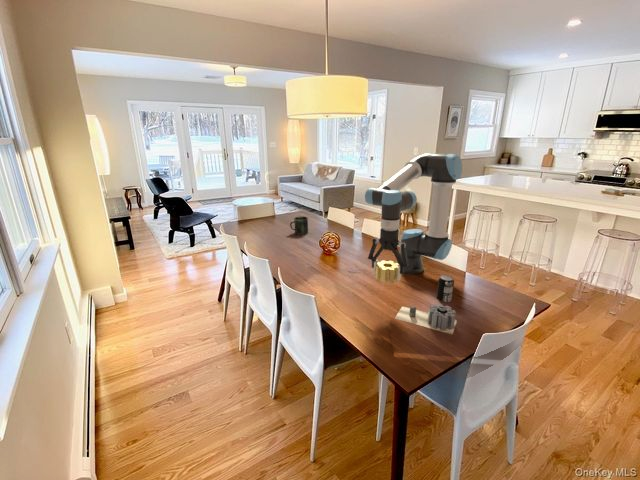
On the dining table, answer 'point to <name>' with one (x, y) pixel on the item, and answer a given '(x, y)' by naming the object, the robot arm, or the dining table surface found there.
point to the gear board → (418, 318)
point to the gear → (441, 317)
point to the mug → (300, 225)
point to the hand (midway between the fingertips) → (386, 277)
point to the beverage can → (445, 288)
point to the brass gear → (386, 271)
